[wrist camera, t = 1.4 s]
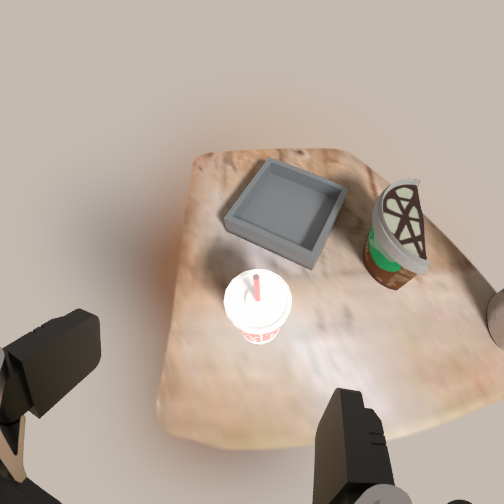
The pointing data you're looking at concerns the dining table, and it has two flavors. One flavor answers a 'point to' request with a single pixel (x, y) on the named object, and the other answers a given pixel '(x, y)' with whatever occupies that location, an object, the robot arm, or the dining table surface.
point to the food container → (396, 236)
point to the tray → (287, 211)
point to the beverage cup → (258, 304)
